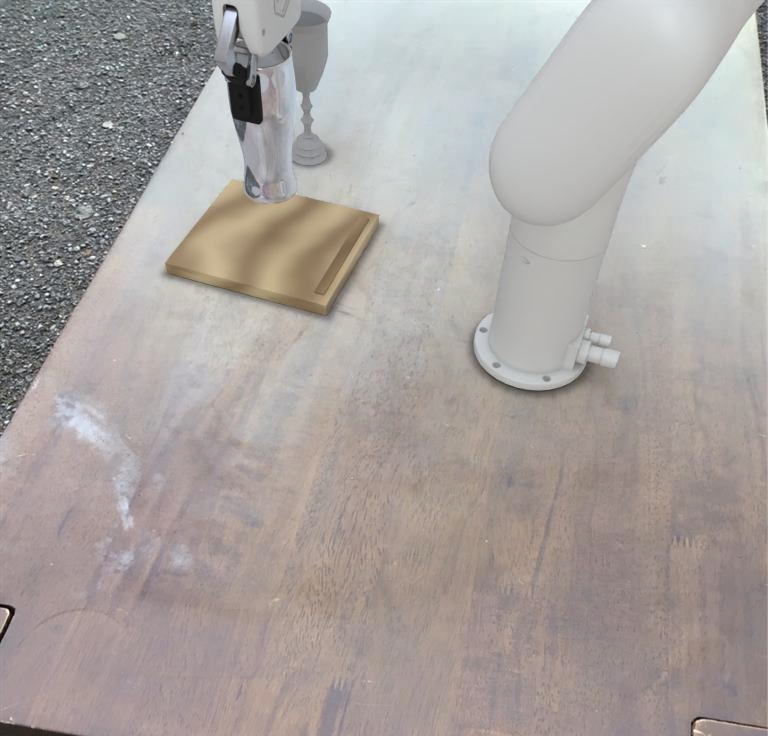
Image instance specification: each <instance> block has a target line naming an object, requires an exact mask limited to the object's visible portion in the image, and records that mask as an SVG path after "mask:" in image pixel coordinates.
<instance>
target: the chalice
mask: <svg viewBox="0 0 768 736" xmlns="http://www.w3.org/2000/svg"><path fill="white" fill-rule="evenodd" d="M331 17H332V10H331V8H330V7H329V6H328V4H326V3H324V2H322V1H320V0H301V15H300V18H299V20H298V22H297V23H296V24H295V25H294V27H293V28H292V29H291V30H292V33H293V40H292V43H291V45H289V44H288V45H289V46H292V59H293V66H294V73H295V82H296V92H299V93H301V96H302V101H301V104H300V108H301V110H302V113H303V115H302V117H301V118H300V122H301V124H302V125H303V128H304V129H303V132H302V133H300V134H298V136H297V137H296V138H295V139H294V141H293V149H292V162H295V163H296V164H298V165H302V166H315V165H320V164H321V163H323V162H325V161H326V159H328V153H327V150H326V149H325V145H324V144H323V141H322V139H321V138H320V137H319V136H318V134H316V133H314V132H312V124H313V123H314V117H312V115H311V111H312V108H313V106H314V105H313V103H312V102H311V98H310V95H311V93H313V92H315V91H316V90H317V88H318V86H319V83H320V81H321V79H322V77H323V74H324V72H325V69H326V65H327V62H328V58H329V31H328V28H329V21H330V20H331Z"/></svg>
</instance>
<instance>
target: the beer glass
mask: <svg viewBox="0 0 768 736" xmlns="http://www.w3.org/2000/svg"><path fill="white" fill-rule="evenodd" d="M236 45H237V46H242V47H246V48H248V47H247V45H246V43H245V41H244V40H243V39H237V42H236ZM247 60H248V55H244V54H239V53H237V57H236V62H237V63H240V64H241V65H242V66H243V67H244V68H245V69H246V70H247ZM256 82H258V83H260V88H261V100H262V111H263V121H262V123H261V124H260V125H257V124H253V123H249V122H244V121H240V120H236V119H234V118H233V117H232V116H231V118H232V122H233V125H234V129H235V133H236V135H237V139H238V143H239V145H240V150H241V153H242V157H243V158H242V159H243V169H244V171H243V189H244V192H245V194H246V196H247V197H248V198H250V199H251V200H253V201H255V202H258V203H261V204H278V203H282V202H285V201H287V200H289V199H291V198H292V197H293V196H294V195H295V194H296V195H297V192H298V180H297V176H296V173H295V169H294V164H293V162H294V161H293V160H292V149H293V145H294V140H295V139H294V138H295V132H296V131H295V130H296V122H297V108H298V105H297V104H298V99H297V98H298V97H297V90H296V82H295V73H294V66H293V59H292V50H291V48H290V46H289V45H288V44H287V43H285V42H284V41H282V40H281V41H280V43H279V44H278V45H277V46H276V47H275V48H274V49H273V50H272V51H271V52H270V53H269V54H268V55H266V56H265V57H259V56H258V63H257V73H256ZM226 87H227V88H226V90H227V98H228V103H229V111H230V114H231V115H232V112H231V104H230V96H229V87H228V82H226Z"/></svg>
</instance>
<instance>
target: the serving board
mask: <svg viewBox="0 0 768 736" xmlns="http://www.w3.org/2000/svg"><path fill="white" fill-rule="evenodd" d="M243 182H244V180H243V181H242V180H238V179H234V178H231V179H230V181H229V182H228V183H227V185H225V187H224V188H223V190H222V191H221V192H220V193H219V194H218V196H216V198H215V199H214V201H213V202H212V203H211V205H210V206H209V207H208V208H207V210H206V211H205V212H204V213H203V215H202V216H201V217H200V218H199V220H198V221H197V222H196V223H195V224H194V226H193V227H192V229H191V230H189V232H188V233H187V235H186V236H185V237H184V238H183V239H182V241H181V242H180V243H179V245H178V246H177V247H176V249H174V250H173V252H172V253H171V255H170V256H169V257H168V258H167V260H166V261H165V262H164V264H165V269H166V274H168V275H172V276H176V277H179V278H183V279H188V280H191V281H195V282H199V283H203V284H207V285H209V286H214V287H218V288H221V289H225V290H227V291H228V290H229V291H232V292H236V293H240V294H243V295H248V296H250V297H253V298H254V297H255V298H258V299H262V300H266V301H270V302H273V303H277V304H281V305H285V306H288V307H292V308H296V309H300V310H302V311H306V312H307V311H308V312H309V313H310V312H311V313H314V314H319V315H322V316H326V317H327V315H328V313H329V311H331V308H332V306H333V305H334V304H335V301H336V300H337V298H338V297H339V294H340V292H341V291H342V290H343V287H344V286H345V284H346V283H347V281H348V279H349V277H350V276H351V274H352V272H353V270H354V268H355V267H356V265H357V264H358V262H359V260H360V258H361V256H362V255H363V254H364V251H365V250H366V248H367V246H368V245H369V243H370V241H371V239H372V238H373V236H374V234H375V233H376V230H377V229H378V227H379V226H380V214H378V213H374V212H370V211H365V210H361V209H357V208H353V207H349V206H345V205H341V204H336V203H332V202H329V201H324V200H320V199H317V198H312V197H308V196H304V195H299V194H297V193H296V194H295V195H294V196H293V197H292V198H291V199H289V200H287V201H285V202H282V203H278V204H261V203H258V202H255V201H253V200H251V199H250V198H248V197H247V196H246V194H245V192H244V189H243Z"/></svg>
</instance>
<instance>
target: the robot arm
mask: <svg viewBox="0 0 768 736" xmlns="http://www.w3.org/2000/svg"><path fill="white" fill-rule="evenodd" d="M765 1H766V0H591V1H590V2H589V3H588V4H587V5H586V6H585V8H584V9H583V11H582V12H581V13H580V14H579V16H577V19H576V20H574V22H573V24H572V25H571V26H570V28H569V29H568V30H567V32H566V33H565V35H563V38H562V39H561V40H560V42H559V43H558V44H557V46H556V47H555V49H554V50H553V52H551V54H550V55H549V57H548V58H547V59H546V61H545V62H544V64H543V65H542V67H541V68H540V69H539V71H538V72H537V73H536V75H535V76H534V77H533V79H532V80H531V81H530V83H529V84H528V85H527V87H526V88H525V89H524V91H523V92H522V94H521V95H520V97H519V98H518V99H517V101H516V102H515V103H514V105H513V106H512V108H511V109H510V111H509V112H508V113H507V114H506V116H505V117H504V118H503V120H502V121H501V123H500V124H499V126H498V128H497V130H496V132H495V134H494V136H493V139H492V142H491V145H490V150H489V155H488V156H489V157H488V174H489V181H490V184H491V188H492V190H493V193H494V195H495V197H496V200H497V201H498V203H499V204H500V205H501V207H502V208H503V210H505V211H506V212H507V213H508V214H509V215H510V222H509V226H508V230H507V231H508V232H507V237H506V243H505V248H504V253H503V258H502V262H501V263H502V265H501V269H500V273H499V280H498V285H497V290H496V296H495V300H494V307H493V310H492V312H490V313H488V314H487V315H486V316H484V318H482V319H481V321H480V322H479V323H478V325H477V326H476V329H475V332H474V337H473V342H472V344H473V353H474V355H475V359H476V360H477V361H478V363H479V364H480V366H481V367H482V368H483V369H484V370H485V371H486V372H487V373H488V374H489V375H491V376H492V377H493V378H495V380H498V381H499V382H502V383H503V384H505V385H508V386H511V387H514V388H516V389H517V388H518V389H521V390H527V391H549V390H554V389H558V388H562V387H564V386H566V385H569V384H571V383H572V382H573V381H574V380H575V381H576V380H577V378H579V377H580V376H581V374H582V373H583V372H584V370H585V367H586V366H587V364H588V362H589V363H591V364H592V363H593V364H596V365H598V366H600V367H603V368H608V369H611V370H616V367H617V365H618V362H619V359H620V356H621V351H619V350H615V349H612V348H610V346H611V343H612V340H613V335H610V334H607V333H602V332H595V331H593V330H592V327H591V328H590V327H587V325H588V322H589V318H590V314H589V313H588V311H589V308H590V305H591V301H592V298H593V295H594V293H595V288H596V285H597V282H598V280H599V279H598V278H599V276H600V272H601V268H602V266H603V262H604V259H605V256H606V253H607V250H608V246H609V244H610V242H611V241H610V240H611V238H612V235H613V231H614V228H615V225H616V222H617V218H618V216H619V212H620V209H621V207H622V204H623V200H624V197H625V195H626V193H627V189H628V186H629V184H630V182H631V179H632V176H633V174H634V171H635V169H636V166H637V163H638V162H639V160H640V159H641V158H642V157H644V155H645V154H646V153H647V152H649V150H650V149H651V148H652V147H653V146H654V145H655V143H657V142H658V140H660V139H661V137H663V135H665V133H667V131H668V130H669V129H670V128H671V127H672V126H673V125H674V124H675V123H676V122H677V121H678V119H679V118H680V117H681V116H682V115H683V114H684V113H685V111H686V110H687V109H688V108H689V107H690V105H692V103H693V102H694V101H695V100H696V98H697V97H698V96H699V95H700V93H701V92H702V91H703V89H704V88H705V87H706V86H707V84H708V82H709V81H710V79H711V78H712V77H713V75H714V74H715V72H716V71H717V69H718V67H719V66H720V64H721V63H722V61H723V60H724V58H725V57H726V55H727V54H728V52H729V51H730V49H731V48H732V46H733V44H734V43H735V41H736V40H737V38H738V36H739V35H740V33H741V31H742V30H743V28H744V27H745V25H746V24H747V22H749V20H750V19H751V17H752V16H753V15H754V14H755V12H756V11H757V10H758V9H759V8H760V7H761V6H762V4H763V3H764V2H765ZM211 7H212V8H211V9H212V17H213V24H214V30H215V35H216V40H217V42H216V46H215V50H214V53H213V62H214V63H215V65H216V66H217V67H218V68H219V70H220V72H221V74H222V75H223V77H224V81H225V82H226V83H227V82H228V87H229V96H230V104H231V110H230V113H231V112H232V114H231V118H232V117H233V118H234V119H236V120H240V121H244V122H249V123H253V124H257V125H260V124H261V123H262V121H263V111H262V100H261V88H260V83H258V82H256V73H257V63H258V56H259V57H265V56H266V55H268V54H269V53H270V52H271V51H272V50H273V49H274V48H275V47H276V46H277V45H278V44H279V43H280V41H281V40H282V41H284V42H285V43H287V44H289V45H291V43H292V40H293V33H292V30H291V29H292V28H293V27H294V25H295V24H296V23H297V22H298V20H299V18H300V15H301V0H211ZM238 39H243V40H244V41H245V43H246V45H247V47H248V48H246V47H242V46H237V45H236V42H237V40H238ZM290 48H291V50H292V46H290ZM237 53H239V54H244V55H248V60H247V70H246V69H245V68H244V67H243V66H242V65H241V64H240V63H237V62H236V57H237Z"/></svg>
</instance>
